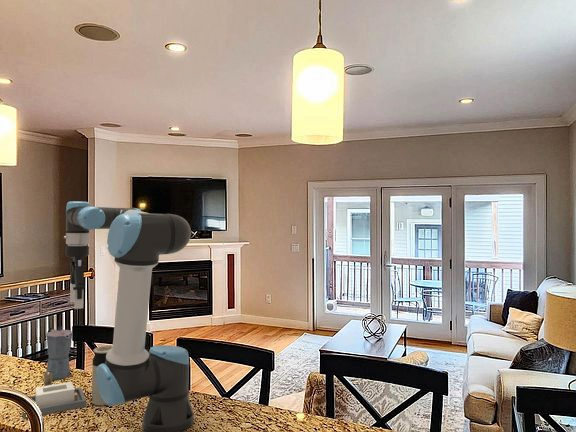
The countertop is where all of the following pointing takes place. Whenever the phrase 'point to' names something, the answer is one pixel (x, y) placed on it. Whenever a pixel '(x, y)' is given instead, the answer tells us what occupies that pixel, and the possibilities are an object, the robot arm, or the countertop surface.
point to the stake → (48, 378)
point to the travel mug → (97, 360)
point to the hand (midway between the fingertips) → (76, 305)
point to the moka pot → (59, 352)
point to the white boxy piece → (55, 394)
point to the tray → (64, 404)
